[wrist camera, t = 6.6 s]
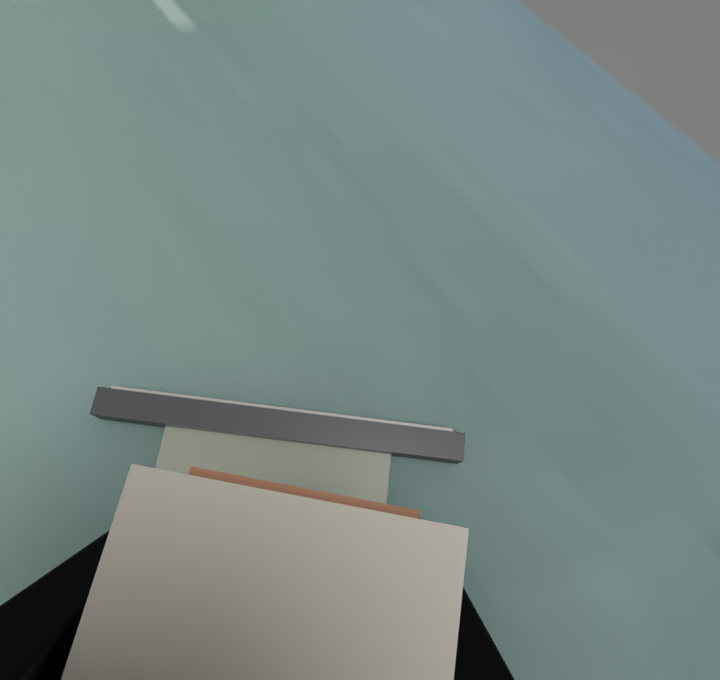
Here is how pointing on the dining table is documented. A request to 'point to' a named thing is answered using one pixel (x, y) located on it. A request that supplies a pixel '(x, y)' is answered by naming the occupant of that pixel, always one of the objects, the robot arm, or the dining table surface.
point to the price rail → (278, 423)
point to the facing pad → (278, 462)
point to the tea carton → (268, 585)
